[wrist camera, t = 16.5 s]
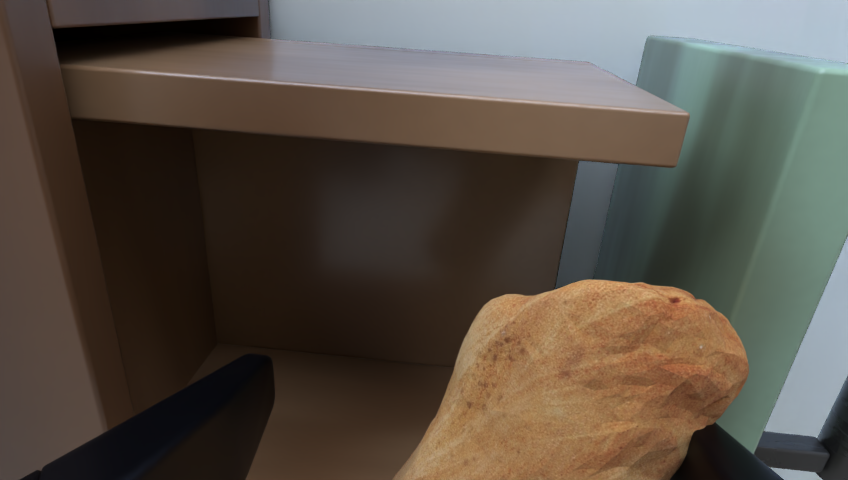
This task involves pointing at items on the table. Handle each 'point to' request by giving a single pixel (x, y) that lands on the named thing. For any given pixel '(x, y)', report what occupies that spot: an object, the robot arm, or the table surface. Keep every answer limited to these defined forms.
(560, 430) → the tan elongated piece
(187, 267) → the drawer
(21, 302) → the cabinet
